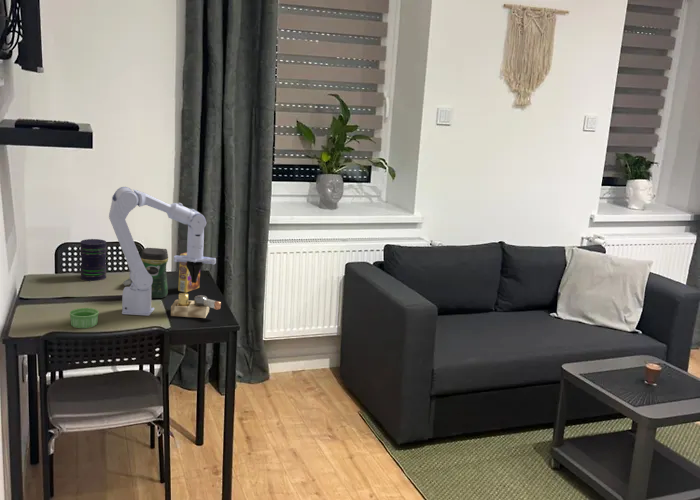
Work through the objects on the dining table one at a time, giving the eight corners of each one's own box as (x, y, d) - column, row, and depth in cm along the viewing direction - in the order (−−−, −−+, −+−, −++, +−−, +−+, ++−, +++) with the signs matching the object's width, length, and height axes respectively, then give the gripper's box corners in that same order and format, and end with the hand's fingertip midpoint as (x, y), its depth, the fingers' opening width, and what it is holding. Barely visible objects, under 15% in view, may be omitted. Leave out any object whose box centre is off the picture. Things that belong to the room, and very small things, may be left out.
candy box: (186, 293, 266) (187, 255, 262) (177, 291, 267) (178, 253, 264) (200, 288, 274) (201, 251, 270) (191, 286, 275) (192, 249, 272)
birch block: (170, 315, 238) (171, 306, 238) (175, 308, 246) (175, 299, 245) (205, 318, 239) (205, 308, 238) (209, 311, 247) (209, 301, 246)
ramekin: (96, 319, 229) (96, 306, 228) (100, 328, 222) (100, 315, 221) (68, 321, 225) (67, 308, 224) (71, 330, 217) (71, 317, 217)
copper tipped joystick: (215, 311, 236) (216, 303, 236) (191, 304, 241) (191, 297, 240) (223, 308, 240) (224, 300, 239) (199, 301, 245) (200, 294, 244)
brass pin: (177, 314, 241) (177, 295, 239) (179, 311, 244) (179, 292, 242) (186, 314, 241) (187, 295, 239) (188, 312, 244) (189, 293, 242)
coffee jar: (169, 293, 263) (170, 246, 259) (164, 299, 256) (165, 251, 252) (144, 292, 263) (144, 245, 259) (138, 298, 255) (139, 249, 251)
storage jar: (76, 279, 272) (75, 243, 268) (86, 273, 281) (86, 238, 278) (100, 281, 271) (100, 245, 268) (110, 275, 281) (110, 240, 278)
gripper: (172, 246, 239) (171, 283, 242) (214, 249, 240) (212, 286, 243) (176, 242, 246) (175, 278, 249) (217, 245, 247) (215, 281, 250)
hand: (194, 282), depth 246 cm, fingers closed
